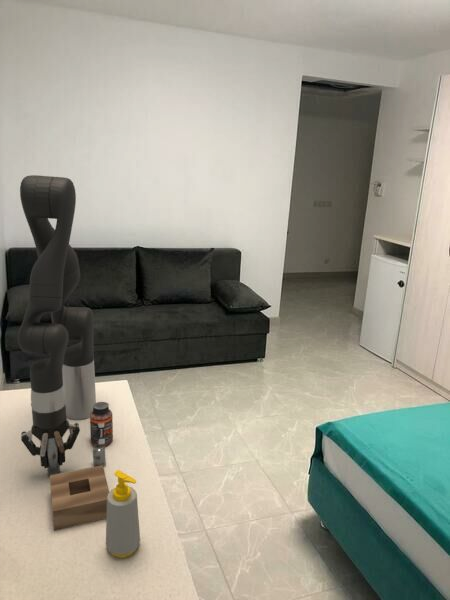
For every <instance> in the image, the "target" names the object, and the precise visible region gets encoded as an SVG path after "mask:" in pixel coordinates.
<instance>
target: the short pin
mask: <svg viewBox="0 0 450 600" xmlns="http://www.w3.org/2000/svg"><path fill="white" fill-rule="evenodd" d="M92 457H93V458H92V459H93V461H92V462H93V463H92V464H93V467H96V466H101V465H103V468H104V467H106V460H107V459H106V446H103V445H96V446H94V445H93V447H92Z"/></svg>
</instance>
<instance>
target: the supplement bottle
mask: <svg viewBox="0 0 450 600" xmlns="http://www.w3.org/2000/svg"><path fill="white" fill-rule="evenodd" d="M113 423H114V422H113V412H112V410H111V409H110V407H109V403H108V402H106V401H97V402H96V403H95V404H94V405H93V411H92V412H91V413H90V417H89V429H90V431H89V432H90V443H91V445H92V446H93V447H94V446H96V445H103V446H105V447H107V446H109V445H110V444H111V443H112V442H113V438H114V435H113V434H114V433H113V432H114V430H113V429H114V427H113V426H114V425H113Z"/></svg>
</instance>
